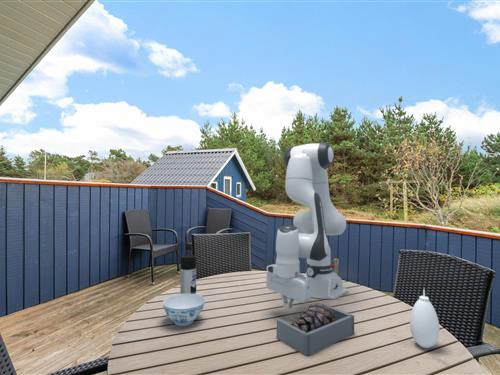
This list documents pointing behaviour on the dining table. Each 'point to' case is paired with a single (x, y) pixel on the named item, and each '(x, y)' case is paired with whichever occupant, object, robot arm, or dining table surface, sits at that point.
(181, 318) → the chinaware
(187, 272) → the spray can
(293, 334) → the box
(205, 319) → the dining table surface
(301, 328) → the pine cone
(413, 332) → the sauce bottle
